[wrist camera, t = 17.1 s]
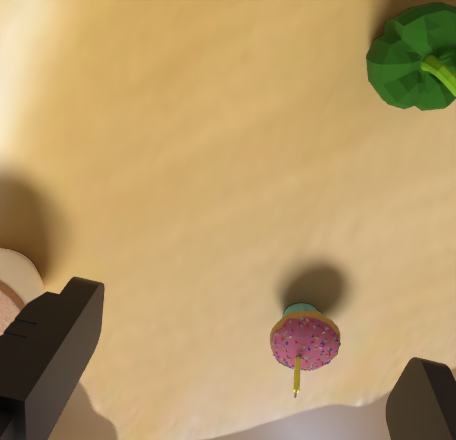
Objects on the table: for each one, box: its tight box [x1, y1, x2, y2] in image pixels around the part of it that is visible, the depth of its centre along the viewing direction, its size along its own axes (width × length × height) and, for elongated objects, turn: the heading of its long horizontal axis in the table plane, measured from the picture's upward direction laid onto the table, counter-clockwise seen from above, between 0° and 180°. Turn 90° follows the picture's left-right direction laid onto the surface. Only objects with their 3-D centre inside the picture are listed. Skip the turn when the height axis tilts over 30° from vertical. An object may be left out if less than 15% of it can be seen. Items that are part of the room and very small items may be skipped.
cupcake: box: [270, 303, 341, 398], centre depth 50 cm, size 9×8×12 cm
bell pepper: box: [366, 2, 456, 111], centre depth 35 cm, size 8×8×10 cm
